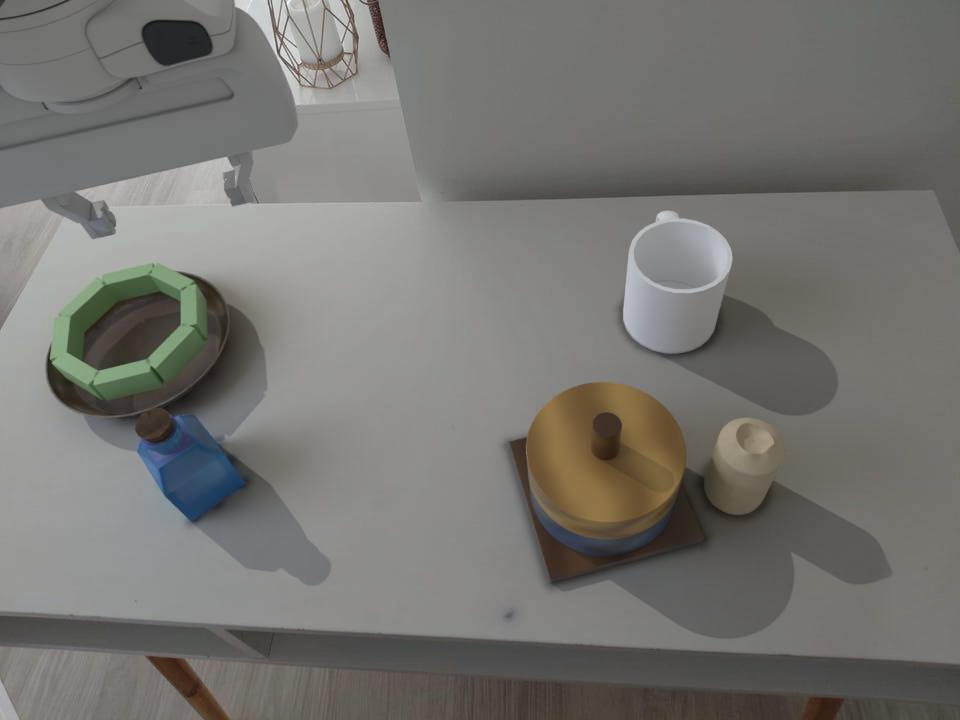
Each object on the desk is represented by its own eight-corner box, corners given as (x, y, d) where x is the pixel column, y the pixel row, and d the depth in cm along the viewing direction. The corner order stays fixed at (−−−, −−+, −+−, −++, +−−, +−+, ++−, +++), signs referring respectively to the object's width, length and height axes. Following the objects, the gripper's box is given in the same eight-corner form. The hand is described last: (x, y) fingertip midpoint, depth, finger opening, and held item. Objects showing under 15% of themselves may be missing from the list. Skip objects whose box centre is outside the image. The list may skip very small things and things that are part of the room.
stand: (550, 583, 68) (547, 527, 57) (509, 447, 76) (500, 375, 65) (702, 542, 69) (727, 479, 58) (646, 411, 77) (658, 335, 66)
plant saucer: (129, 271, 95) (117, 253, 93) (270, 306, 90) (261, 288, 87) (23, 405, 85) (5, 389, 82) (175, 454, 79) (161, 439, 77)
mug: (724, 351, 80) (743, 288, 72) (629, 359, 81) (636, 297, 72) (701, 263, 87) (715, 196, 79) (613, 270, 88) (618, 205, 80)
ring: (60, 412, 80) (44, 397, 77) (72, 301, 89) (58, 284, 86) (209, 376, 81) (197, 360, 78) (205, 269, 90) (195, 252, 87)
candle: (772, 477, 72) (798, 424, 63) (752, 526, 69) (777, 477, 61) (715, 453, 74) (734, 399, 65) (694, 499, 71) (711, 449, 63)
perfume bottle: (192, 522, 75) (135, 467, 65) (165, 480, 78) (107, 421, 68) (246, 484, 76) (198, 425, 67) (217, 444, 80) (168, 382, 70)
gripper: (-151, 103, 38) (15, 284, 49) (255, 14, 39) (325, 211, 50) (-122, 34, 41) (26, 218, 52) (248, -45, 42) (315, 151, 54)
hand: (175, 214), depth 51 cm, fingers open, 8 cm apart
